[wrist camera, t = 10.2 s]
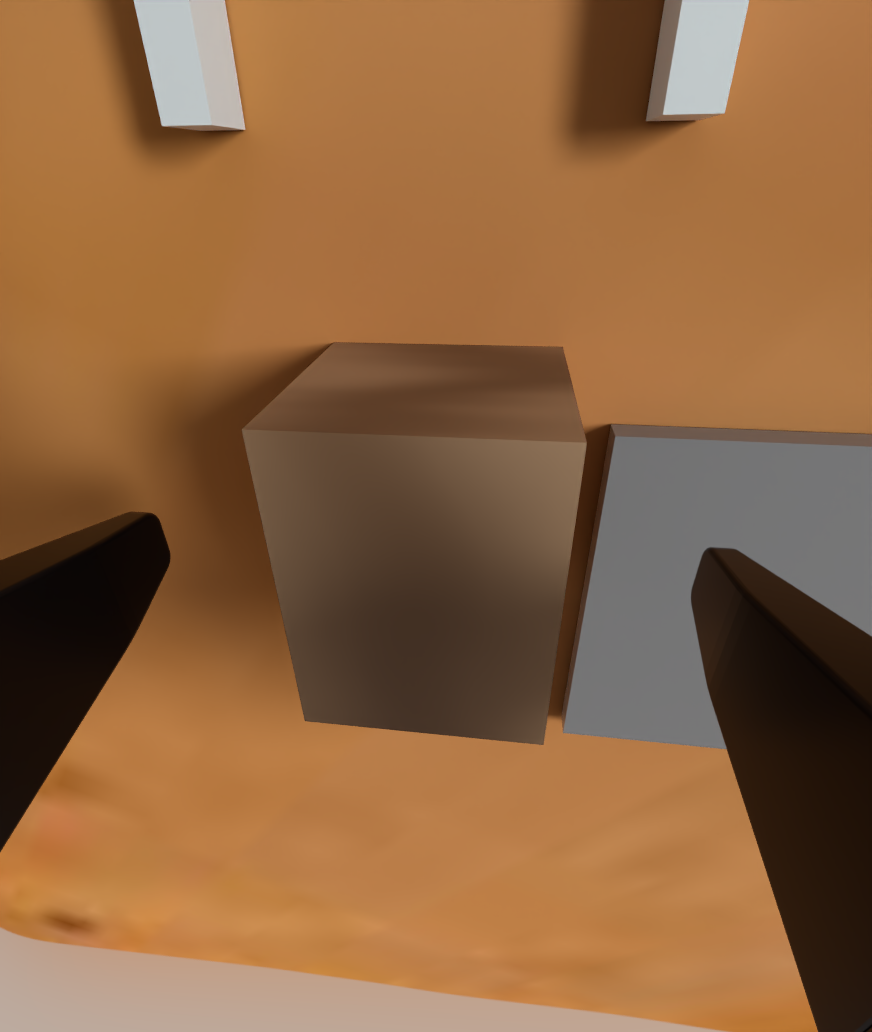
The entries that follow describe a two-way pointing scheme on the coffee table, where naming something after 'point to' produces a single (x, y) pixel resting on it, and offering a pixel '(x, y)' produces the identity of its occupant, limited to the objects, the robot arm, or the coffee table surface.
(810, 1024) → the coffee table surface
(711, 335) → the coffee table surface
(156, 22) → the acrylic channel
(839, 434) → the slate coaster
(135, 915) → the coffee table surface
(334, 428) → the walnut block
